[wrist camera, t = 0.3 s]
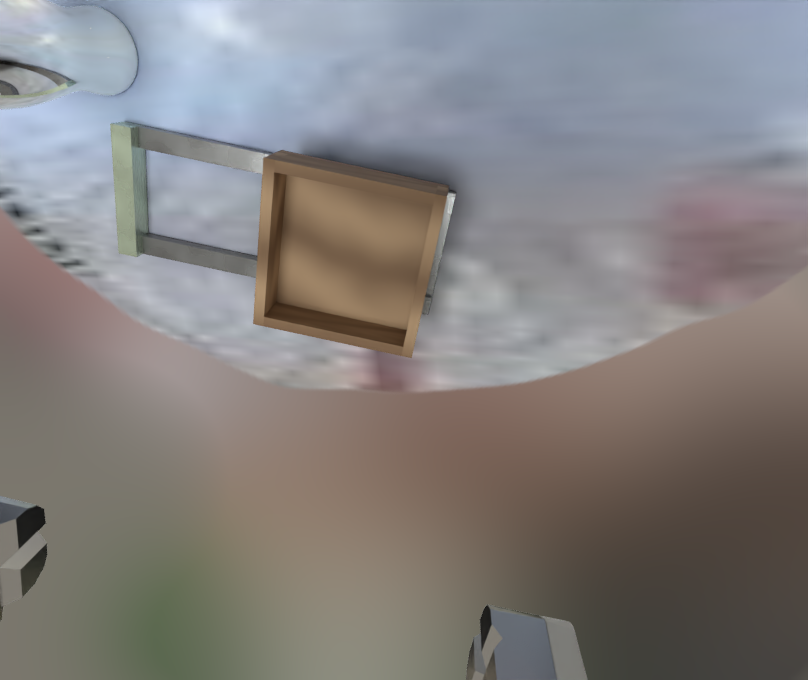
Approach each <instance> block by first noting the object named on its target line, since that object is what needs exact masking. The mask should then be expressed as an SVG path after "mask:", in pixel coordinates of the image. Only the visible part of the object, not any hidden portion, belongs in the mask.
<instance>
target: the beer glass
mask: <svg viewBox="0 0 808 680" xmlns="http://www.w3.org/2000/svg"><path fill="white" fill-rule="evenodd" d="M137 68H138V57H137V51H136V47H135V44H134V41H133V39H132V37H131V35H130V33H129V31H128V30H127V28H126V27H125V25H124V24H123V23H122V22H121V21H120V20H119V19H118V18H117V17H116V16H115V15H113V14H112V13H110V12H109V11H107V10H105V9H103V8H101V7H97V6H93V5H80V6H73V7H63V6H60V5H57V4H55V3H52V2H50V1H48V0H0V110H4V109H16V108H25V107H31V106H35V105H39V104H43V103H46V102H49V101H52V100H55V99H58V98H61V97H63V96H66V95H69V94H71V93H75V92H79V91H85V92H89V93H93V94H97V95H102V96H113V95H117V94H120V93H122V92H124V91H125V90H126V89H128V88H129V87H130V85H131V84H132V83H133V81H134V79H135V76H136V73H137Z"/></svg>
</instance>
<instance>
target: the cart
mask: <svg viewBox="0 0 808 680" xmlns="http://www.w3.org/2000/svg"><path fill="white" fill-rule="evenodd" d="M448 189H449V186H448V185H444V184H439V183H434V182H429V181H425V180H420V179H415V178H411V177H406V176H401V175H397V174H392V173H387V172H382V171H378V170H373V169H368V168H364V167H359V166H354V165H349V164H345V163H340V162H335V161H331V160H326V159H321V158H317V157H312V156H307V155H302V154H298V153H293V152H288V151H284V150H281V151H278V152H276V153H273V154H271V155H269V156H266V157H264V158H263V173H262V190H261V206H260V222H259V239H258V255H257V271H256V288H255V304H254V320H253V324H256V325H261V326H265V327H270V328H275V329H279V330H284V331H289V332H293V333H298V334H303V335H307V336H312V337H316V338H321V339H326V340H330V341H335V342H340V343H344V344H349V345H354V346H358V347H363V348H367V349H372V350H377V351H381V352H386V353H391V354H395V355H400V356H405V357H409V358H412V353H413V349H414V344H415V340H416V335H417V331H418V326H419V322H420V317H421V313H422V308H423V304H424V299H425V295H426V290H427V286H428V281H429V277H430V272H431V268H432V263H433V259H434V254H435V250H436V245H437V241H438V236H439V232H440V227H441V223H442V218H443V214H444V209H445V205H446V200H447V195H448Z"/></svg>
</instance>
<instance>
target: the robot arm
mask: <svg viewBox="0 0 808 680" xmlns="http://www.w3.org/2000/svg"><path fill="white" fill-rule="evenodd" d="M45 524H46V521H45V512H44V509H43V508H41V507H39V506H37V505H33V504H30V503H25V502H22V501H18V500H13V499H10V498H5V497H2V496H0V621H1V620H2V613H3V606H5V605H7V604H10V603H12V602H14V601H16V600H18V599H20V598H22V597H23V596H24V595H25V594H26V593H27V592H28V591H29V590H30V589H31V587H32V586H33V585H34V584H35V583H36V581H37V579H38V577H39V575H40V573H41V572H42V570H43V568H44V566H45V562H46V557H47V543H46V541H45V540H44V539H43V537H42V536H41V535H40V533H39V532H38V531H39V530H40V529H41V528H42V527H43V526H44V525H45ZM480 630H481V631H480V632H481V633H480V634H479V635H477V636H476V637H474V638H473V642H472V645H471V648H470V651H469V657H468V664H467V671H466V680H587V676H586V673H585V669H584V665H583V661H582V657H581V653H580V650H579V646H578V642H577V638H576V634H575V631H574V627H573V626H572V624H571V623H570V622H568V621H564V620H558V619H554V618H549V617H545V616H539V615H535V614H530V613H525V612H521V611H516V610H511V609H506V608H502V607H497V606H492V605H486V607H485V608H484V610H483V612H482V615H481V618H480Z"/></svg>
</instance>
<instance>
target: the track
mask: <svg viewBox="0 0 808 680" xmlns="http://www.w3.org/2000/svg"><path fill="white" fill-rule="evenodd" d="M110 126H111V142H112V157H113V173H114V188H115V203H116V219H117V234H118V250H119V253H120V254H125V255H130V256H134V257H138V256H140V255H141V254H147V255H152V256H157V257H161V258H166V259H171V260H175V261H180V262H185V263H189V264H194V265H199V266H203V267H208V268H212V269H217V270H222V271H226V272H231V273H236V274H240V275H245V276H250V277H254V278H256V271H257V256H253V255H248V254H244V253H239V252H234V251H230V250H225V249H220V248H216V247H211V246H206V245H202V244H197V243H192V242H188V241H183V240H178V239H174V238H169V237H164V236H160V235H155V234H150V233H148V209H147V182H146V155H145V149H147V150H151V151H156V152H161V153H166V154H170V155H175V156H180V157H184V158H189V159H194V160H198V161H203V162H208V163H212V164H217V165H222V166H227V167H231V168H236V169H241V170H245V171H250V172H255V173H259V174H262V173H263V158H264V157H266V156H269V155H271V154H273V153H270V152H266V151H261V150H256V149H252V148H247V147H242V146H238V145H233V144H228V143H223V142H219V141H214V140H209V139H205V138H200V137H195V136H190V135H186V134H181V133H176V132H172V131H167V130H162V129H158V128H153V127H148V126H143V125H139V124H134V123H129V122H118V123H111V124H110ZM455 195H456V192H454V191H449V190H448V195H447V200H446V205H445V209H444V214H443V218H442V223H441V227H440V232H439V236H438V241H437V245H436V250H435V254H434V259H433V263H432V268H431V272H430V277H429V281H428V286H427V290H426V295H425V299H424V304H423V308H422V314H427V315H428V313H429V309H430V305H431V300H432V295H433V291H434V287H435V282H436V278H437V273H438V269H439V265H440V260H441V256H442V252H443V247H444V243H445V239H446V234H447V230H448V225H449V221H450V217H451V213H452V209H453V204H454V200H455Z"/></svg>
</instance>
